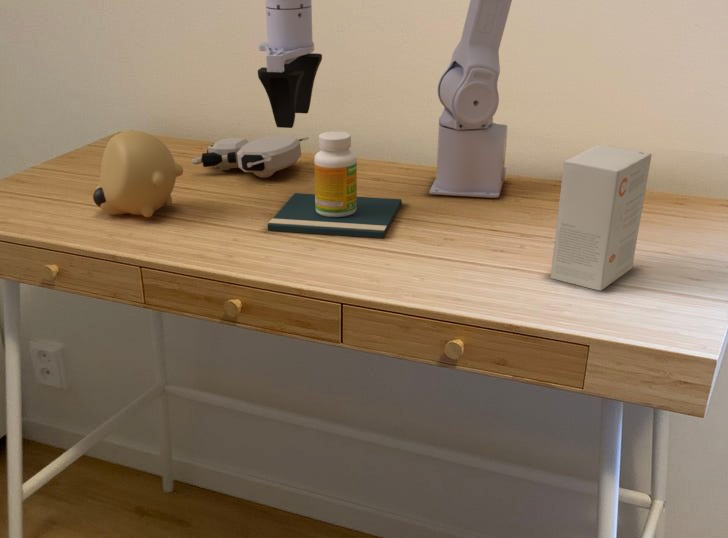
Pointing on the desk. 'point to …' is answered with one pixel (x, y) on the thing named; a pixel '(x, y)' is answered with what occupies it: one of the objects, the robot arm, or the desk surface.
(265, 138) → the robot toy
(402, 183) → the desk surface
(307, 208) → the teal notebook
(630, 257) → the small box
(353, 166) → the supplement bottle
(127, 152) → the toy pig
